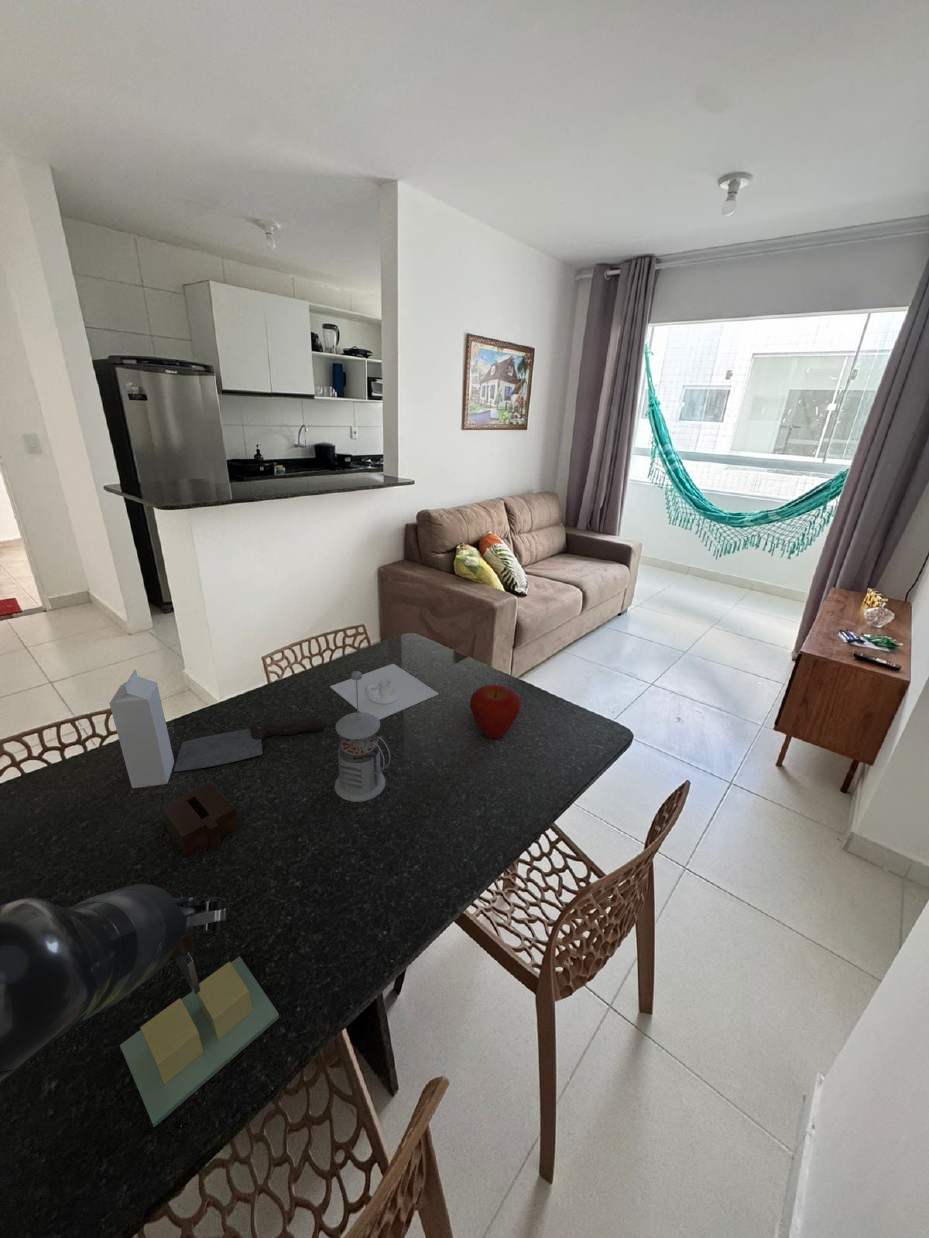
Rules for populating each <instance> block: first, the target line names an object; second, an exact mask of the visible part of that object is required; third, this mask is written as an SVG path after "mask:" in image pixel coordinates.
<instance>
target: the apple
mask: <svg viewBox="0 0 929 1238" xmlns="http://www.w3.org/2000/svg"><path fill="white" fill-rule="evenodd" d="M521 703H522V701H521V698H520V696H519V694H518V693H517V692H515V691H514V690H513V689H511V688H510V687H507V686H504V685H500V684H485V685H482V686H480V687H479V688H478V689H476V690H475V691H474V692H473V693H472V694H471V697H470V701H469V708H470V711H471V713H472V716H473V719H474V721H475V723H476V724H475V725H476V726H477V728H478V732H480V733H481V734H482V735H484V736H485V737H486V738H489V739H498V738H500V737H502V736H505V734H506V733H508V732H509V729H511V727H512V725H513V724H514V722H515V721H516V719H517V717H518V716H519V714H520V711H521Z"/></svg>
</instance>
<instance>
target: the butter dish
mask: <svg viewBox="0 0 929 1238" xmlns="http://www.w3.org/2000/svg"><path fill="white" fill-rule="evenodd" d="M199 986H200V990H201V991H200V992H199V993H197V994H196V995H195V994H194V992H193V990H192V991H190V992H189V993H188V994H186V995H185V996H184V997H182V998H180V997H179V998H178V999H176V1000H175V1001H173V1002H172V1003H171V1004H169V1005H168V1006H167V1007H166V1008H164V1009H163V1010H162V1011H160V1012H158V1013H157V1014H156V1015H154V1016H153V1017H152V1018H150V1019H149V1020H148V1021H147V1022H145V1023H144V1024H142V1025H141V1026H140V1028H139V1030H137V1032H135V1033H134V1034H133V1035H131V1036H130V1037H129V1038H127V1039H126V1040H125V1041H123V1042H122V1043H120V1044H119V1047H120V1050H121V1052H122V1055H123V1057H124V1059H125V1062H126V1064H127V1066H128V1069H129V1072H130V1074H131V1076H132V1079H133V1081H134V1083H135V1085H136V1088H137V1090H138V1093H139V1095H140V1098H141V1100H142V1102H143V1105H144V1107H145V1110H146V1112H147V1115H148V1117H149V1119H150V1122H151V1124H152V1127H153V1128H155V1127H157V1126H158V1125H159V1124H160V1123H161V1122H163V1121H164V1120H165V1119H166V1118H167V1117H169V1115H171V1113H173V1112H174V1111H175V1110H176V1109H177V1108H178V1107H180V1106H181V1105H182V1104H183V1103H184V1102H185V1101H186V1100H188V1099H189V1098H190V1097H192V1095H193V1094H195V1093H196V1091H198V1090H199V1089H201V1087H202V1086H203V1085H204V1084H206V1083H207V1082H208V1081H209V1080H210V1079H212V1077H214V1076H215V1075H217V1073H218V1072H220V1071H221V1069H223V1068H224V1067H225V1066H227V1065H228V1063H230V1062H231V1061H232V1060H233V1059H234V1058H235V1057H237V1056H238V1055H239V1054H240V1053H241V1052H242V1051H244V1049H245V1048H247V1047H248V1046H249V1045H250V1044H251V1043H253V1042H254V1041H255V1040H256V1039H257V1038H258V1037H260V1035H262V1034H263V1033H264V1032H265V1031H266V1030H267V1029H268V1028H270V1027H271V1026H272V1025H273V1024H274V1023H276V1022H277V1020H279V1019H280V1014H279V1012H278V1010H277V1009H276V1008H275V1006H274V1004H273V1003H272V1001H271V999H270V998H269V997H268V996H267V994H266V993H265V991H264V990H263V988H262V987H261V985H260V984H259V983H258V981H257V979H256V977H254V975H253V974H252V972H251V970H250V969H249V967H248V966H247V964H245V962H244V961H243V959H242V957H241V956H238V957H236V958H235V959H234V960H233V961H227V962H226V963H225V964H223V965H222V966H221V967H220V968H218V969H216V971H214V972H213V973H211V974H210V975H209V976H207V977H206V978H204V979H203V980H202V981H201V982H199Z"/></svg>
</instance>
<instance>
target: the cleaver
mask: <svg viewBox="0 0 929 1238" xmlns="http://www.w3.org/2000/svg"><path fill="white" fill-rule="evenodd" d="M322 731H324V720H323V718H320V717H317V718H316V717H312V718H299V719H298V718H297V719H288V720H280V721H273V722H266V723H265V722H264V723H260V724H255V725H254V724H253V725H252V726H251V727H250V728H245V729H238V730H233V731H227V732H223V733H222V732H221V733H217V734H211V735H206V736H201V737H196V738H193V739H188V740H184V741H182V742H181V745H180V748H179V750H178V754H177V758H176V761H175V762H174V763H175V764H174V767H173V773H174V772H185V771H191V770H192V771H193V770H199V769H205V768H210V767H216V766H221V765H226V764H231V763H236V762H239V761H244V760H246V759H250V758H255V757H257V756H262V755H263V754H264V752H263V741H264V740H265V739H266V738H268V737H272V736H291V735H293V736H294V735H297V734H301V733H309V732H322Z"/></svg>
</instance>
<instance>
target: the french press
mask: <svg viewBox="0 0 929 1238" xmlns="http://www.w3.org/2000/svg"><path fill="white" fill-rule="evenodd" d="M362 675H363V674H362V672H361V671H359V670H354V671H353V672H351V675H350V677H351V678H350V679H353V680H356V696H357V709H356V712H351V713H348V714H346V715H344V716H342V717H341V718H340V719H339V720H338V721H337V722H336V724H335V730H336V733H337V735H339V736H340V737H341V739H340V741H339V745H338V746H339V748H338V751H337V762H338V777H337V778H336V779H335V782H334V786H333V787H334V790H335V793H336V795H338V796H339V797H340V798H341V799H343V800H346V801H349V802H365V801H366V802H367V801H369V800H372V799H374V798H376V797H378V795H380V794H382V791H384V789H385V787H386V780H387V779H386V778H385V775H384V774H383V771H384V770H385V769H386V768H388V767H389V766H390V764H391V751H390V749H389V746H388V745H387V743H386V741H385V740H384V739H383V738H382V737H381V736H376V734H377V732H378V731H379V730H380V729H381V728H380V727H381V721H380V720H379V719H378V718H377V717H375V716H374V715H372V714H369V713H361V712H359V711H358V690H357V680H360V679H361V678H362ZM379 739H380V741H382V742H383V744H384V746H385V748H386V750H387V753H388V763H387V764H385V761H386V760H385V756H384V753H383V751H382V749H381V746H380V744H379ZM371 755H372V756H371ZM367 756H370V757H367ZM381 756H382V767H381ZM361 757H365V758H361ZM354 758H357V759H354ZM358 758H359V759H358Z"/></svg>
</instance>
